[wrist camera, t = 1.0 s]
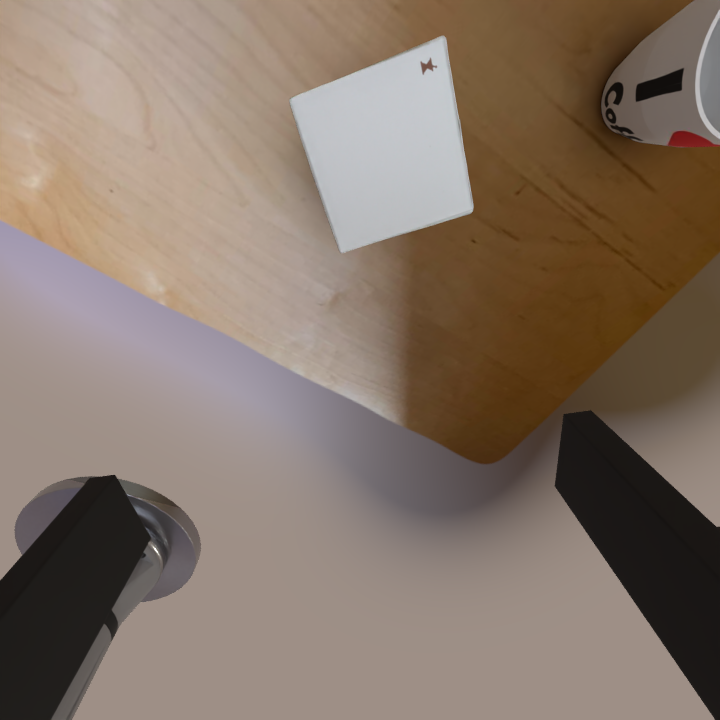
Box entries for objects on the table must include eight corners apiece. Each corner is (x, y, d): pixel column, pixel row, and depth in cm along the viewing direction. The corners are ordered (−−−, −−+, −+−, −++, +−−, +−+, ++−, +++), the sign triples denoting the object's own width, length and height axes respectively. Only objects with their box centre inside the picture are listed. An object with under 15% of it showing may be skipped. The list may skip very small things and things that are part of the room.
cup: (559, 98, 27) (666, 54, 18) (661, -11, 24) (845, -125, 15) (616, 181, 29) (735, 180, 20) (713, 90, 27) (899, 43, 18)
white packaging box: (309, 129, 27) (282, 90, 16) (406, 94, 26) (451, 26, 15) (341, 229, 30) (337, 257, 19) (428, 201, 29) (479, 212, 18)
